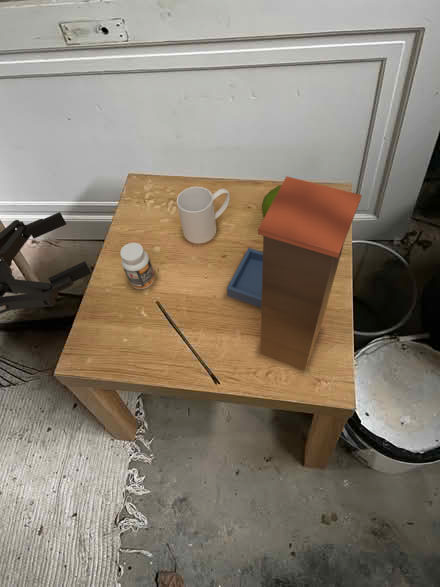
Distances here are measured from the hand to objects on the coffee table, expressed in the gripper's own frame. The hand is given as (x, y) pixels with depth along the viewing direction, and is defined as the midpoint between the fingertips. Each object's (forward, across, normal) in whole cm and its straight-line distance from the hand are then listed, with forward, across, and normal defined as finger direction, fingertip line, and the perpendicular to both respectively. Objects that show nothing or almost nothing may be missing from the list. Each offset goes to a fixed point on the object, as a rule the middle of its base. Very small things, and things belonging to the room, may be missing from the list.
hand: (75, 241), depth 75 cm
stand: (+27, +30, -18) cm, 44 cm away
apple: (+44, +6, -19) cm, 48 cm away
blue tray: (+30, +16, -18) cm, 39 cm away
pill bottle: (+9, 0, -19) cm, 21 cm away
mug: (+28, -5, -19) cm, 34 cm away
